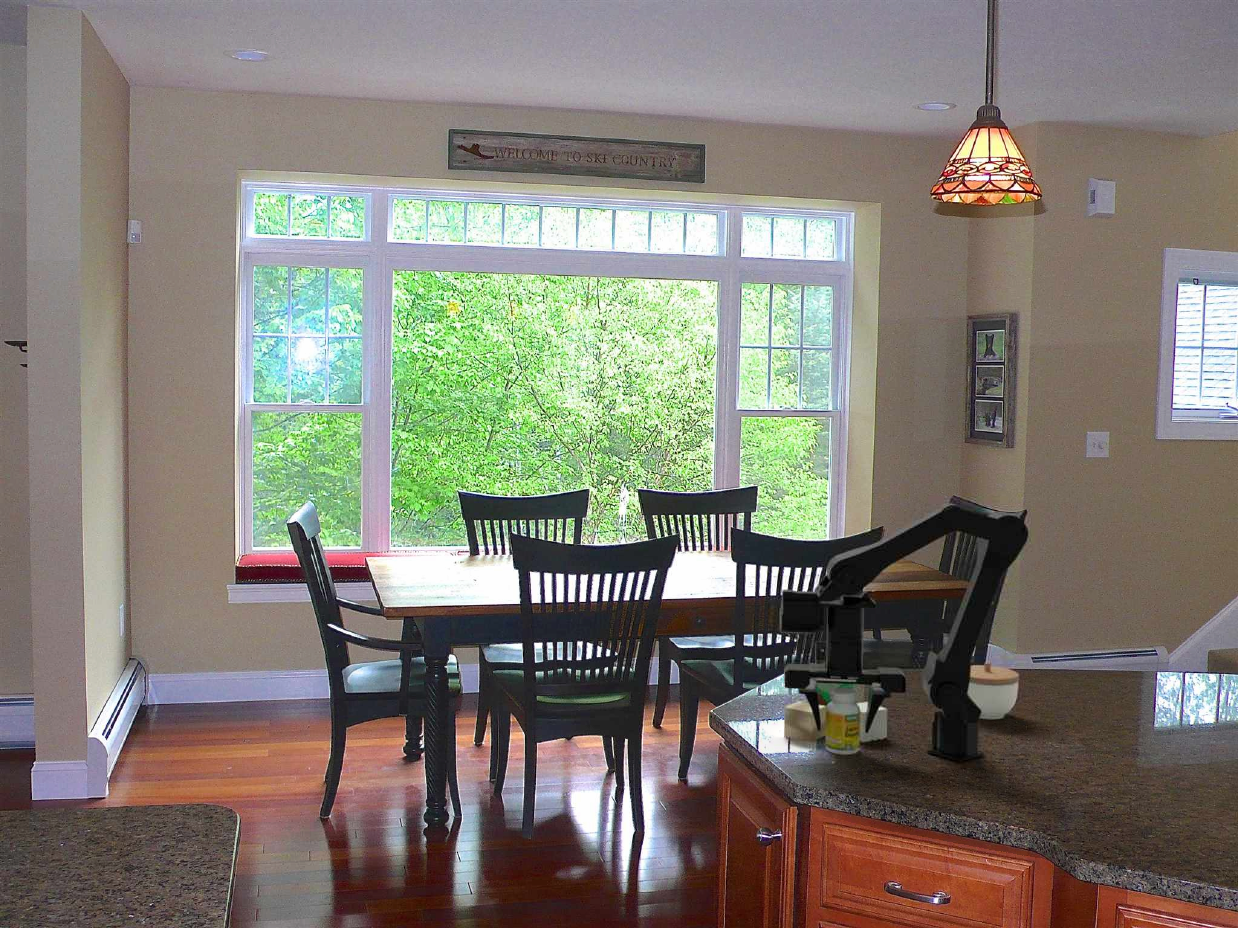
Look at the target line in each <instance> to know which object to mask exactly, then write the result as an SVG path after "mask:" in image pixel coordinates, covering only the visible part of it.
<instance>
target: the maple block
mask: <svg viewBox="0 0 1238 928" xmlns="http://www.w3.org/2000/svg"><path fill="white" fill-rule="evenodd" d="M819 711H820V720H821V730H820V731H818V729H817V726H816V722H815V719H814V716H813V712H812V709H811V707H810V704H809V702H806V701H801V700H799V701H796V702H794V703H791V704H789V705H787V706H784V722H783V723H784V725H783V727H784V729H783V730H784V732H783V734H784V735H783V736H784V737H786V738H789V739H790V738H791V739H795V740H798V741H803V742H804V741H805V742H808V743H812V742H815V741H816V740H819V739H821V738H822V737H826V706H823V705H819Z"/></svg>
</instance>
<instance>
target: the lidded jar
mask: <svg viewBox="0 0 1238 928" xmlns="http://www.w3.org/2000/svg"><path fill="white" fill-rule="evenodd" d="M991 664H992V663H991V662H987V661H985V662H984V665H982V664H981V665H979V664H977V665H975V664H973V665H972V664H971V674H970V683H969V688H968V693H967V694H968V695H969V696H970V698H971V699H972V700H973V701H974V702H975V704H976V705H977V706H978V707H979V708H980V710H981V711H982V712H981V715H980V717H979V719H981V720H1000V719H1003V718H1004V717H1005V715H1006V714H1008V713H1009V712H1010V711H1011V710H1012V708H1013V707H1014V705H1015V704H1016V700H1017V696H1018V692H1019V691H1018V690H1019V681H1020V674H1019V673H1018V672H1017V671H1015V670H1012V669H1010V668H1006V667H1001V666H1000V667H999V666H993V665H991Z"/></svg>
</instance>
